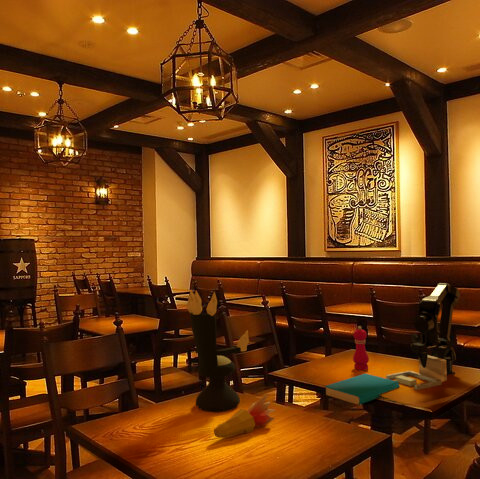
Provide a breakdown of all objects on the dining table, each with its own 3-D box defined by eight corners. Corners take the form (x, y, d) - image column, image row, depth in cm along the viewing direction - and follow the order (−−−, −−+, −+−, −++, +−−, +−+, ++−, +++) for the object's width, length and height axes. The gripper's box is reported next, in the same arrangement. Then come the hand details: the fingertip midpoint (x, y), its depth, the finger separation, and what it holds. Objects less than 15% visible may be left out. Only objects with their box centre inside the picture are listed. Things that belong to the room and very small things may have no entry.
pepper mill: (371, 367, 228) (369, 325, 228) (366, 371, 222) (364, 327, 222) (356, 365, 232) (354, 324, 232) (351, 369, 226) (349, 326, 226)
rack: (409, 377, 210) (409, 370, 210) (441, 387, 194) (441, 380, 194) (386, 382, 204) (386, 375, 204) (417, 393, 189) (416, 385, 189)
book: (324, 386, 191) (364, 372, 207) (325, 396, 191) (364, 382, 207) (360, 396, 178) (399, 380, 193) (360, 407, 178) (400, 391, 193)
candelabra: (252, 402, 186) (248, 285, 186) (218, 421, 167) (214, 291, 167) (213, 394, 196) (209, 284, 196) (177, 412, 177) (172, 289, 177)
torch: (216, 453, 151) (270, 420, 168) (229, 448, 146) (284, 414, 163) (205, 427, 153) (259, 397, 170) (217, 422, 148) (272, 391, 165)
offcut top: (401, 380, 202) (401, 375, 202) (416, 384, 195) (416, 379, 195) (395, 381, 201) (395, 376, 201) (410, 386, 194) (410, 381, 194)
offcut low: (401, 384, 203) (400, 379, 203) (419, 390, 194) (419, 385, 194) (393, 385, 201) (393, 381, 201) (412, 392, 192) (411, 387, 192)
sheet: (424, 377, 210) (423, 354, 210) (447, 384, 199) (446, 359, 199) (419, 378, 209) (418, 355, 209) (441, 385, 198) (440, 360, 198)
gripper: (432, 323, 215) (433, 358, 215) (400, 328, 207) (401, 364, 207) (452, 327, 205) (454, 364, 205) (419, 332, 197) (421, 371, 197)
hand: (432, 365), depth 204 cm, fingers open, 9 cm apart
